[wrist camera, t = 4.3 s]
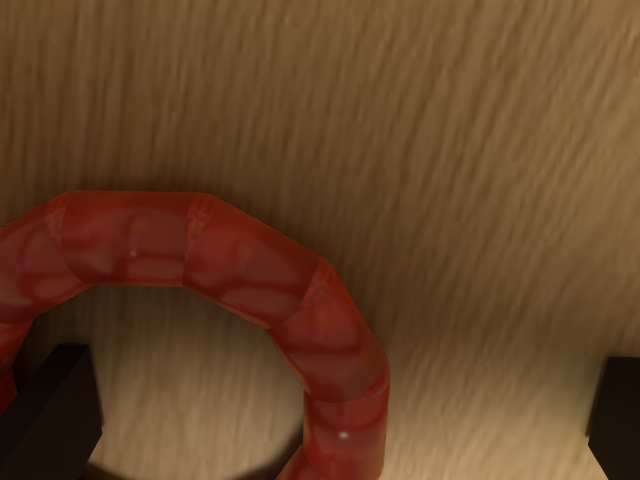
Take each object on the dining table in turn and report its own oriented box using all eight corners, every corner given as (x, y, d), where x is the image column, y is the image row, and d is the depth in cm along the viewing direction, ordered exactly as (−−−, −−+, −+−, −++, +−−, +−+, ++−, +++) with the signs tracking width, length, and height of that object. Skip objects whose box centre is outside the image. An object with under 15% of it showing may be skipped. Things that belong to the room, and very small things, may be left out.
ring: (-4, 539, 17) (-45, 605, 15) (-99, 174, 13) (-173, 202, 11) (372, 548, 17) (377, 614, 15) (397, 184, 13) (409, 214, 11)
